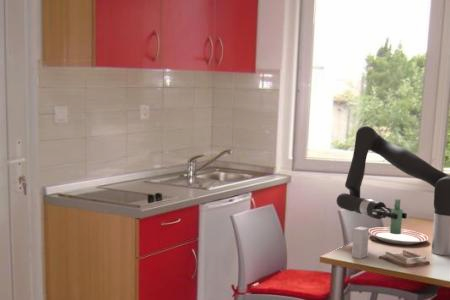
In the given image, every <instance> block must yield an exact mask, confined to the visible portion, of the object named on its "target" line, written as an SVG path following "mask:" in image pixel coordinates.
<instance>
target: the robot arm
mask: <svg viewBox="0 0 450 300" xmlns="http://www.w3.org/2000/svg"><path fill="white" fill-rule="evenodd" d="M369 151H371V152H373V153H375V154H377V155H379V156H381V157H382V158H383V159H384V160H386V161H387V162H388V163H390V165H392V166H393V167H395V168H396V169H398V170H400V171H401V172H402V173H405V174H406V175H408V176H411V177H413V178H415V179H418V180H421V181H422V182H425V183H427V184H429V185H431V186H432V187H433V188H434V191H433V192H434V193H433V208H434V213H433V224H432V225H433V228H432V239H431V240H432V241H431V253H433V254H436V255H439V256H440V255H441V256H450V175H449V174H447V173H445V172H443V171H441V170H440V169H437V168H436V167H434V166H432V165H431V164H430V163H428V162H427V161H426V160H424V159H422V158H421V157H419V156H418V155H417V154H415V153H414V152H412V151H409V150H408V149H406V148H404V147H401V146H400V145H396V144H394V143H391V142H390V141H388V140H387V139H385V138H384V137H382V136H381V135H380V134H378V132H377V131H376V130H375V129H374V128H373V127H372V126H370V125H363V126H361V127H359V128H358V130H356V135H355V141H354V149H353V153H352V159H351V162H350V163H351V164H350V166H349V170H348V173H347V176H346V179H345V183H344V186H345V188H346V189H348V191H349V193H345V192H343V193H339V194H338V196H337V197H336V205H337V206H338V207H339V208H341V209H343V210H345V211H348V212H356V214H360V215H363V216H366V217H369V218H373V219H376V220H381V219H391V218H392V219H398V214H396V213H392V212H391V209H392V208H393V207H392V208H391V207H389V206H386V204H385V203H384V202H382V201H380V200H379V201H378V200H374V199H372V198H371V199H370V198H369V199H368V198H365V197H361V186H362V184H363V179H364V177H365V171H366V164H367V163H366V162H367V157H368V153H369ZM407 216H408V214H407V213H406V212H404V210H403V211H402V219H404V220H405V219H407V218H408V217H407Z"/></svg>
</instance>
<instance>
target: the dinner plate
mask: <svg viewBox="0 0 450 300" xmlns="http://www.w3.org/2000/svg"><path fill="white" fill-rule="evenodd" d="M369 234H370V236H371V237H372V236H373V237H374V238H376V239H379V240H380V241H381V242H385V243H390V244H395V245H409V246H410V245H415V244H419V243H424V242H427V241H428V240H429V237H428V235H426V234H424V233H422V232H418V231H414V230H409V229H404V228H401V234H392V233H390V227H382V226H381V227H380V226H379V227H372V228H369Z"/></svg>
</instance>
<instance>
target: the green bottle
mask: <svg viewBox="0 0 450 300" xmlns="http://www.w3.org/2000/svg"><path fill="white" fill-rule="evenodd" d="M402 211H403V212H404V210H403V209H402V208H401V199H398V198H395V199H394V208H393V207H392V209H391V212H392V213H396V214H398V219H392V218H390V225H389V226H390V227H389V228H390V233H392V234H401V229H402V223H403V218H402Z"/></svg>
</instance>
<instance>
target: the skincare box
mask: <svg viewBox="0 0 450 300" xmlns="http://www.w3.org/2000/svg"><path fill="white" fill-rule="evenodd" d="M369 229H370V228H369V227H365V226H358V227H354V228H353V231H352V233H353V235H352V246H351V247H352V249H351V250H352V251H351V257H352V258H355V259H360V260H361V259H363V258H365V257H368V248H369V247H368V246H369V234H370V233H369Z"/></svg>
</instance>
